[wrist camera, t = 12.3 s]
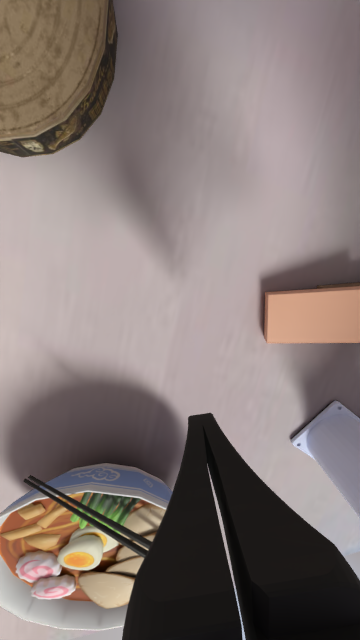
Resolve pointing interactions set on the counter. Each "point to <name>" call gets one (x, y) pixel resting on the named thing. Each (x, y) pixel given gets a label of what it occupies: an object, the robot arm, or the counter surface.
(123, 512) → the ramen bowl
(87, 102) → the wooden tree slice
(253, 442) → the counter surface
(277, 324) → the orange tan rectangular block
